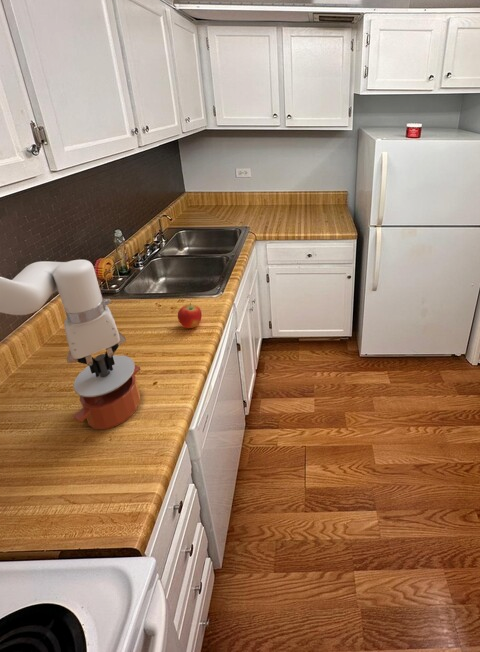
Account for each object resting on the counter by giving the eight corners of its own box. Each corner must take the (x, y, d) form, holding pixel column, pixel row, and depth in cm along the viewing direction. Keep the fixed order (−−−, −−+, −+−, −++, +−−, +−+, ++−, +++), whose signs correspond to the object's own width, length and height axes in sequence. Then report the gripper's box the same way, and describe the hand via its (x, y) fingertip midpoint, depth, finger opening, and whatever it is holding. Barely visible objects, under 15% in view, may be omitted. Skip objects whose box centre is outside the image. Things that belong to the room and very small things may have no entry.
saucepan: (65, 429, 84) (57, 407, 82) (125, 377, 100) (120, 358, 97) (101, 445, 80) (94, 424, 78) (158, 389, 96) (153, 369, 93)
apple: (184, 319, 126) (180, 297, 123) (205, 319, 127) (202, 296, 123) (176, 333, 119) (172, 310, 115) (199, 332, 119) (195, 309, 116)
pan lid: (61, 389, 82) (53, 369, 80) (110, 353, 94) (104, 334, 92) (101, 406, 78) (94, 384, 76) (146, 365, 90) (142, 346, 88)
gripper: (120, 292, 86) (134, 348, 93) (42, 316, 76) (64, 377, 83) (127, 305, 81) (141, 363, 87) (44, 332, 71) (67, 396, 78)
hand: (103, 369), depth 85 cm, fingers closed on pan lid, 2 cm apart
